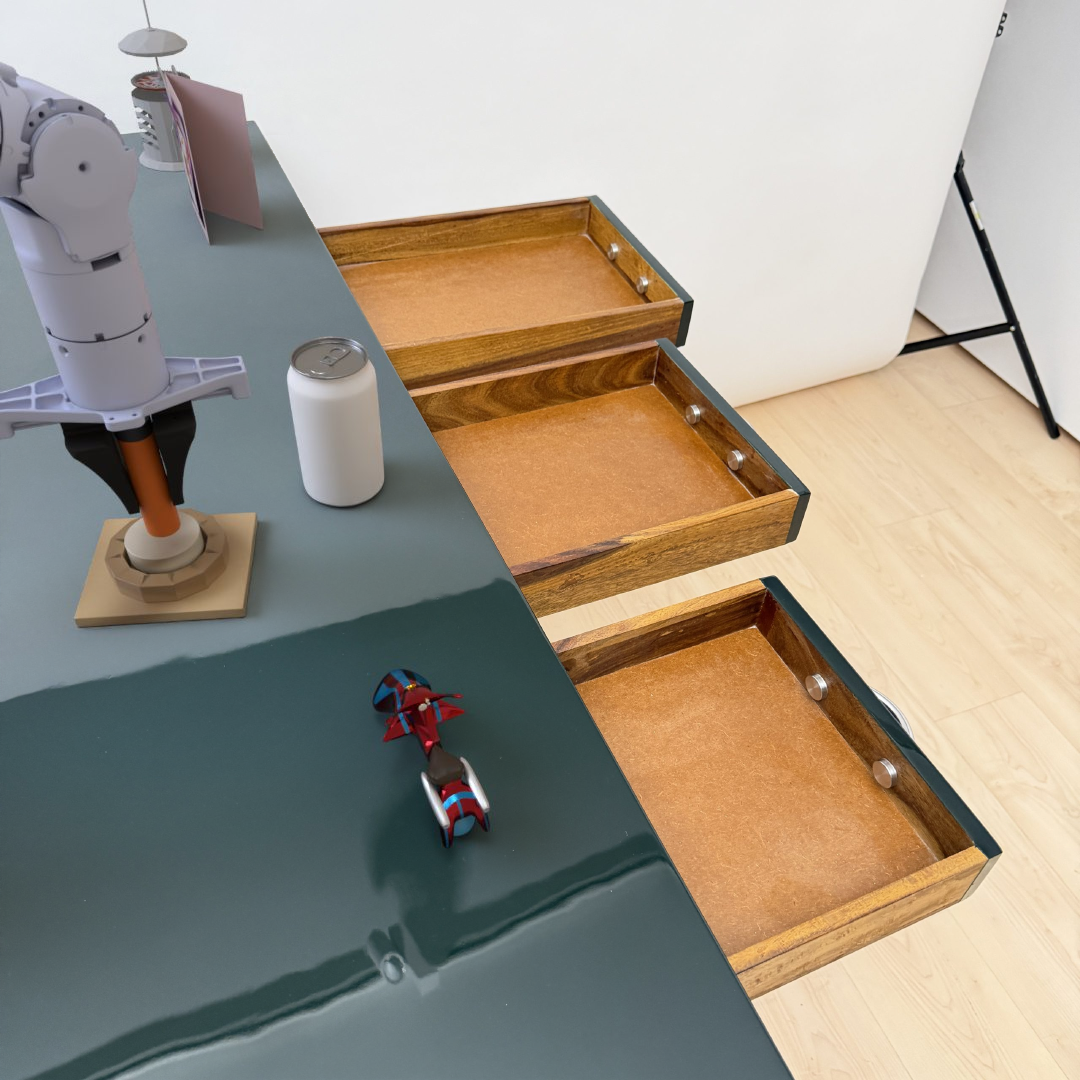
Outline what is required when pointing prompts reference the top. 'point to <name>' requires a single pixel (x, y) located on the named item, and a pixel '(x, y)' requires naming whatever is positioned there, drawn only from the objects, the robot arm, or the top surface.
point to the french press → (155, 96)
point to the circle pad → (164, 547)
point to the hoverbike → (433, 751)
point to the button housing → (171, 576)
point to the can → (336, 420)
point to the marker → (148, 479)
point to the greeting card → (215, 150)
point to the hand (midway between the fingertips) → (155, 500)
